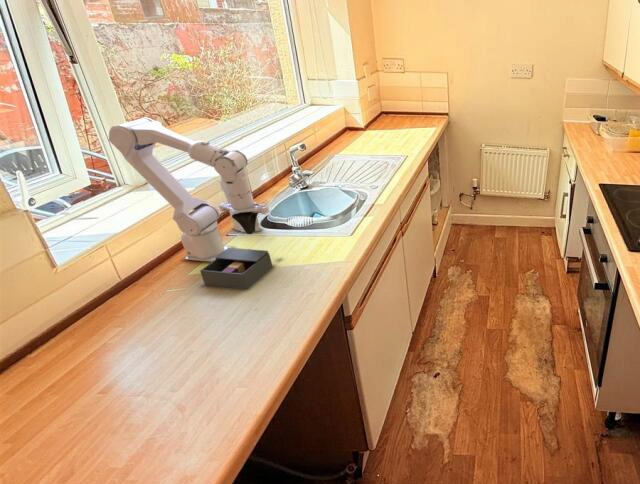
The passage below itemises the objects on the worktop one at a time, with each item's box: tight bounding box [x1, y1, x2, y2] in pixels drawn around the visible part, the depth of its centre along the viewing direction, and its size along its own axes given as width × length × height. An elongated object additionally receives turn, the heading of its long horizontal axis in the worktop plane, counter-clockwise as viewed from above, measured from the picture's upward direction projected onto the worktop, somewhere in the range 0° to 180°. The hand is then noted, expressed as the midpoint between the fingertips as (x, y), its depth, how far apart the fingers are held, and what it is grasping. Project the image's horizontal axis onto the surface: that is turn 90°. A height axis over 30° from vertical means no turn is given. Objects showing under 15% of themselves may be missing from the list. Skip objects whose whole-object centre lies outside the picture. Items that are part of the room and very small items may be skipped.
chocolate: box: [221, 261, 252, 274], centre depth 115 cm, size 3×8×4 cm, turn 173°
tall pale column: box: [218, 177, 262, 233], centre depth 136 cm, size 11×4×22 cm, turn 82°
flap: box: [215, 247, 269, 262], centre depth 116 cm, size 13×5×1 cm, turn 83°
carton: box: [199, 252, 274, 290], centre depth 115 cm, size 13×11×5 cm
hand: (251, 232), depth 123 cm, fingers closed
